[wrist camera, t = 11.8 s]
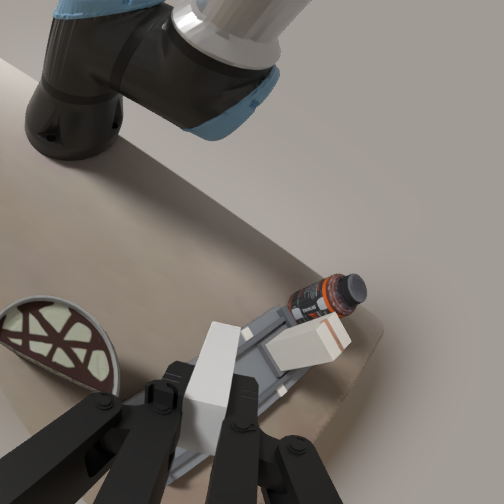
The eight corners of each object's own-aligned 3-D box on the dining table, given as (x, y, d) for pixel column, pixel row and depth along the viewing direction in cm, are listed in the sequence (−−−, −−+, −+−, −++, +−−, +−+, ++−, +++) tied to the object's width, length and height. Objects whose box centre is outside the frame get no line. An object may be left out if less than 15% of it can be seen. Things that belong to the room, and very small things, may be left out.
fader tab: (255, 344, 39) (310, 327, 31) (281, 325, 42) (335, 305, 35) (275, 377, 38) (333, 367, 31) (299, 356, 42) (355, 342, 34)
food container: (122, 345, 32) (144, 330, 24) (106, 397, 29) (121, 400, 21) (24, 296, 28) (13, 262, 20) (3, 346, 24) (-19, 330, 17)
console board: (107, 410, 28) (112, 412, 26) (270, 308, 45) (284, 302, 43) (160, 482, 27) (169, 489, 25) (304, 366, 44) (320, 363, 42)
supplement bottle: (287, 328, 45) (345, 307, 37) (284, 289, 48) (339, 261, 40) (317, 331, 48) (374, 311, 40) (313, 295, 51) (368, 270, 42)
